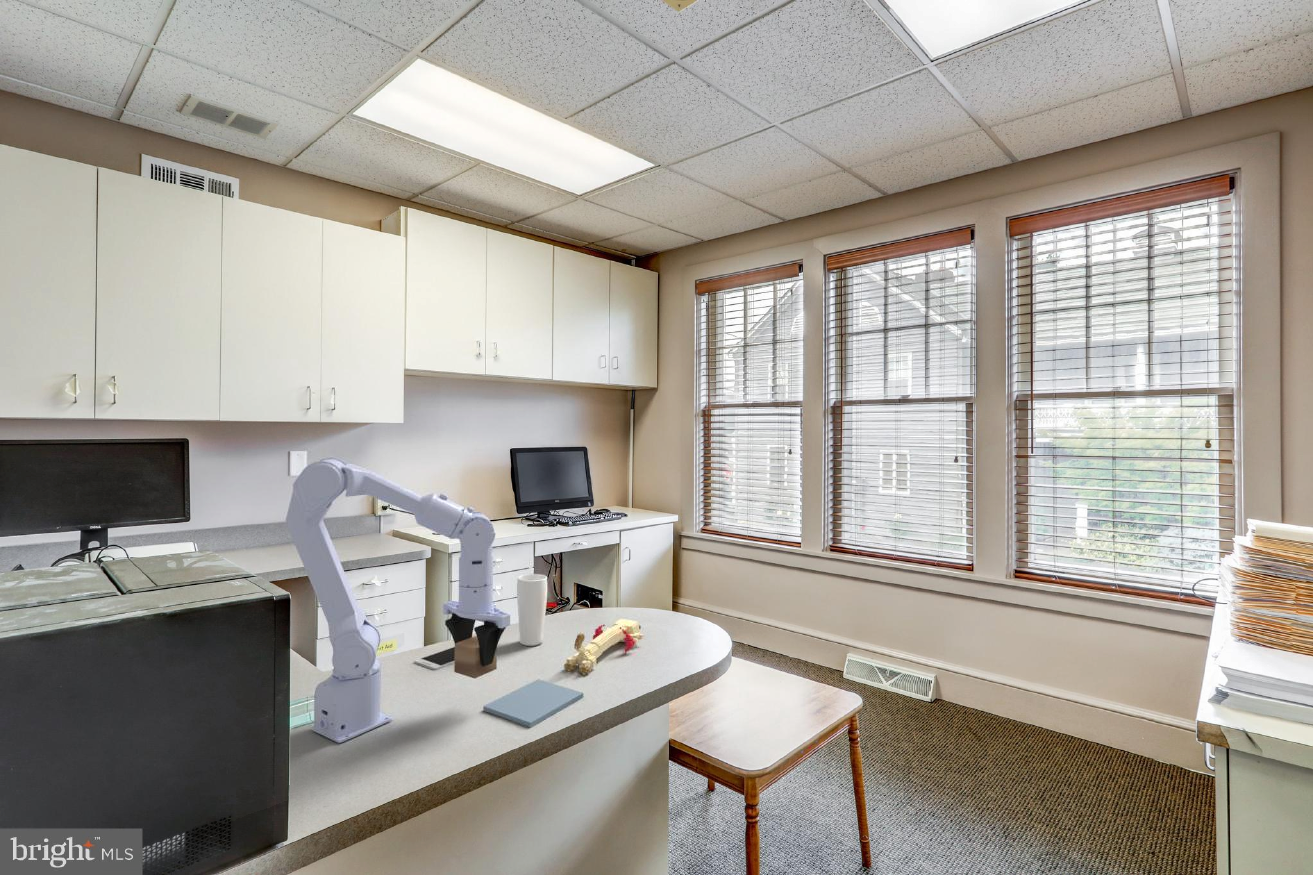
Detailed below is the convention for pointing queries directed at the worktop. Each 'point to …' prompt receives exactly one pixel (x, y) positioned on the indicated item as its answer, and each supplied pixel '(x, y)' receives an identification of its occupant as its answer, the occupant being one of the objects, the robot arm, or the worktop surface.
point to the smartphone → (438, 659)
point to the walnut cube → (471, 659)
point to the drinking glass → (531, 608)
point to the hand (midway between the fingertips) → (475, 660)
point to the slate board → (533, 702)
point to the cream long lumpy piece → (603, 644)
